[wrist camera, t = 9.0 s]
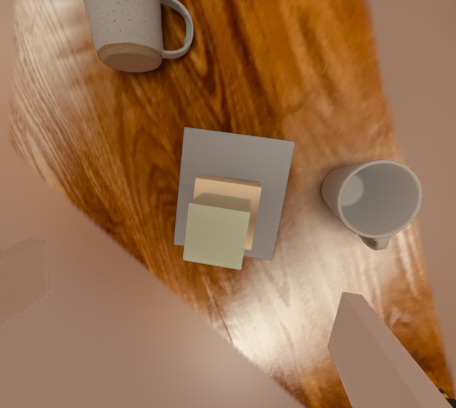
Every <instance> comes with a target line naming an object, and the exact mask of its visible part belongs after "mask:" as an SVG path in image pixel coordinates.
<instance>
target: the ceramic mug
mask: <svg viewBox="0 0 456 408" xmlns="http://www.w3.org/2000/svg"><path fill="white" fill-rule="evenodd" d="M84 2H85V7H86V12H87V16H88V20H89V25H90V30H91V35H92V40H93V43H94V46H95V49H96V52H97V54H98V57H99V58H100V60H101V61H102V62H103V63H104V64H106V65H107V66H109V67H111V68H113V69H116V70H120V71H125V72H147V71H151V70H154V69H156V68H157V67H159V66H160V65H161V63H162V60H163V58H169V59H173V58H177V57H180V56H182V55H184V54H185V53H186V52H187V51H188V50H189V48H190V46H191V43H192V40H193V33H194V27H193V21H192V18H191V16H190V13H189V12H188V10H187V9H186V8H185V7H184V6H183V5H182V4H181V3H180V2H179V1H178V0H84ZM160 4H164V5H167V6H169V7H171V8H173V9H175V10H176V11H178V12H179V13H180V14H181V15H182V16H183V18H184V19H185V22H186V38H185V40H184V43H185V44H184V47H183V48H181V49H179V50H174V51H165V50H164V49H163V33H162V26H161V6H160Z"/></svg>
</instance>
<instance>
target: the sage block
mask: <svg viewBox="0 0 456 408" xmlns="http://www.w3.org/2000/svg"><path fill="white" fill-rule="evenodd" d="M249 218H250V199H245V198H238V197H232V196H225V195H218V194H212V193H205V192H203V193H202V194H201V195H199V196H198V197H196V198H195V199H194V200H192V201H191V202H190V203H189V206H188V216H187V225H186V235H185V245H184V255H183V260H186V261H192V262H198V263H203V264H209V265H215V266H221V267H227V268H233V269H238V270H241V268H242V261H243V255H244V249H245V243H246V237H247V230H248V224H249Z"/></svg>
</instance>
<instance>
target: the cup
mask: <svg viewBox="0 0 456 408" xmlns="http://www.w3.org/2000/svg"><path fill="white" fill-rule="evenodd" d="M321 192H322V197H323V199H324V201H325V202H326V204H327V205H328V206H329V207H330V209H331V210H332V211H333V213H334V214H335V215H336V216H337V217H338V218H339V219H340V220H341V221H342V223H343V224H344V225H345V226H346V227H347V228H348V229H350V230H351V231H353V232H354V233H355V234H358V235H359V237H360V238H361V239H362V241H363V242H364V243H365V244H366V245H367V246H368V247H370V248H371V249H373V250H382V249H385V248H386V247H387V246H388V242H389V239H390V237H391V236H392V235H393V234H395V233H398V232H399V231H401V230H402V229H404V228H405V227H407V226H408V225H409V224H410V223H411V222H412V221H413V220H414V218H415V217H416V215H417V213H418V211H419V209H420V206H421V202H422V188H421V184H420V182H419V179H418V178H417V176H416V175H415V174H414V172H413V171H412V170H411V169H410V168H408V167H407V166H406V165H404V164H402V163H400V162H397V161H394V160H384V159H381V160H375V161H369V162H363V163H357V164H352V165H348V166H344V167H340V168H337V169H335V170H333V171H332V172H330V173H329V174H328V175H327V176H326V178H325V179H324V181H323V183H322V188H321ZM373 238H374V239H375V240H374V239H373Z"/></svg>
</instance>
